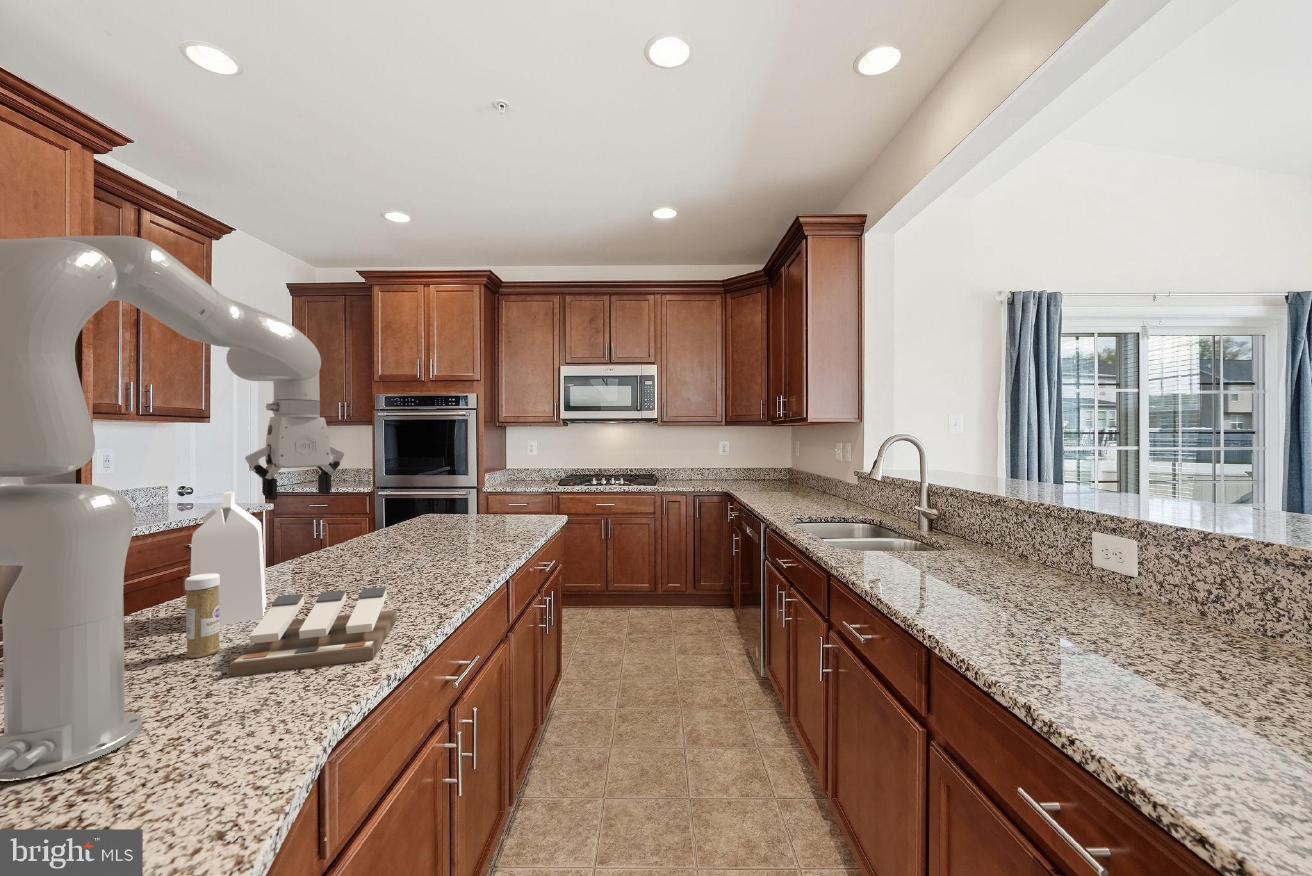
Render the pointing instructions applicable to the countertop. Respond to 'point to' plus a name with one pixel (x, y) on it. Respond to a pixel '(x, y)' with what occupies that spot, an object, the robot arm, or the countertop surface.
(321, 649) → the switch unit
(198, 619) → the sprinkles bottle
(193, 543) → the milk
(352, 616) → the block
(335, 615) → the rocker middle
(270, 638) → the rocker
